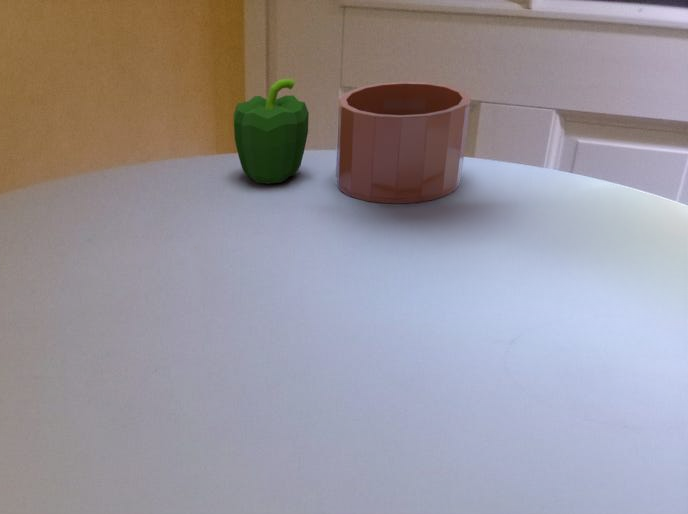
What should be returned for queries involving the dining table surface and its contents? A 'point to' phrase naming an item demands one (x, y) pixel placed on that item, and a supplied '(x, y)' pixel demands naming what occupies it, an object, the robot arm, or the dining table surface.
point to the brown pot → (401, 141)
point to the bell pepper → (271, 134)
